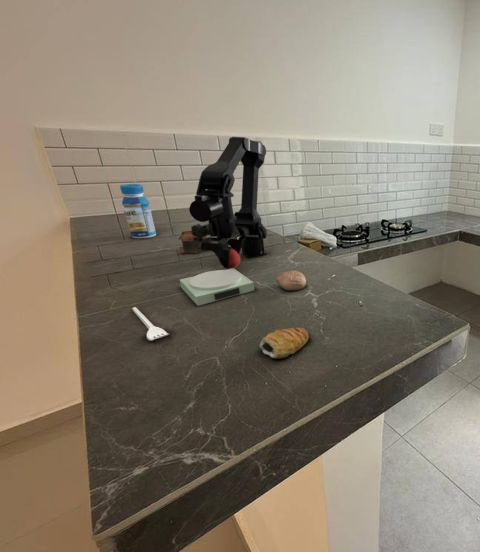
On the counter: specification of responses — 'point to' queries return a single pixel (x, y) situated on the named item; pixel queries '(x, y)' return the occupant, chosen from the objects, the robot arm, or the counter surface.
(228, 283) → the scale
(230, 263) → the onion
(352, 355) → the counter surface
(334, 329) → the counter surface
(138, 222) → the beverage bottle
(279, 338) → the pastry
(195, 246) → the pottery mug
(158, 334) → the fork
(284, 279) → the pink oval lump
